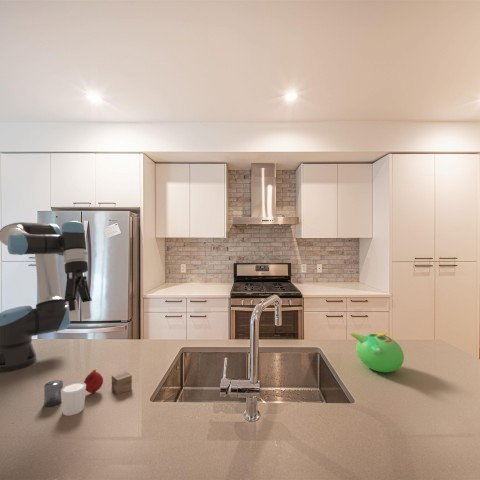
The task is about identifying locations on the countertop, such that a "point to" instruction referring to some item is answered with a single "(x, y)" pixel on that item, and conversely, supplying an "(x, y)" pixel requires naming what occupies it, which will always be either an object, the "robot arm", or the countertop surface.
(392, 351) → the toy bird
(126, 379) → the walnut block
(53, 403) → the metal tin
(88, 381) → the onion
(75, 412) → the white short cylinder
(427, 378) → the countertop surface
